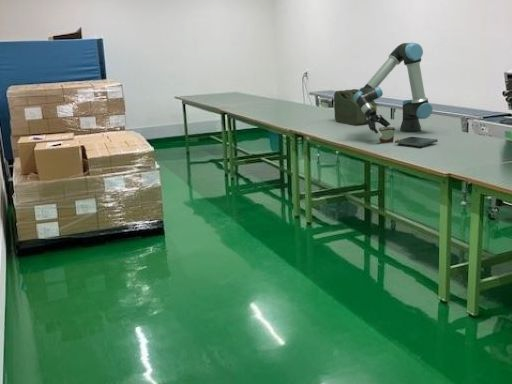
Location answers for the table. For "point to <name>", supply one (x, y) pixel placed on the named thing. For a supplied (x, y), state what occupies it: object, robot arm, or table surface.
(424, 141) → the levelling stand
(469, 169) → the table surface
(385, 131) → the food container
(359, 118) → the fuel can
